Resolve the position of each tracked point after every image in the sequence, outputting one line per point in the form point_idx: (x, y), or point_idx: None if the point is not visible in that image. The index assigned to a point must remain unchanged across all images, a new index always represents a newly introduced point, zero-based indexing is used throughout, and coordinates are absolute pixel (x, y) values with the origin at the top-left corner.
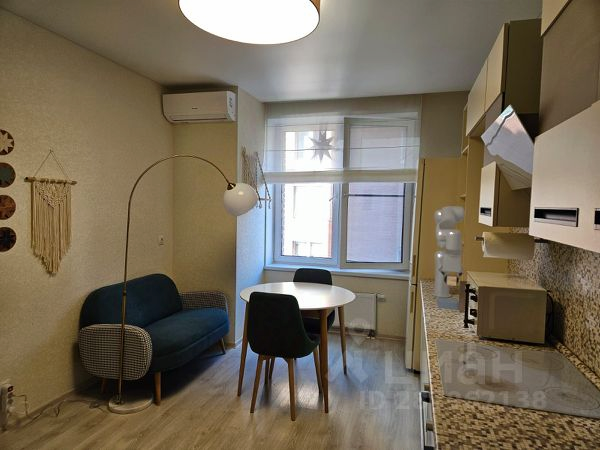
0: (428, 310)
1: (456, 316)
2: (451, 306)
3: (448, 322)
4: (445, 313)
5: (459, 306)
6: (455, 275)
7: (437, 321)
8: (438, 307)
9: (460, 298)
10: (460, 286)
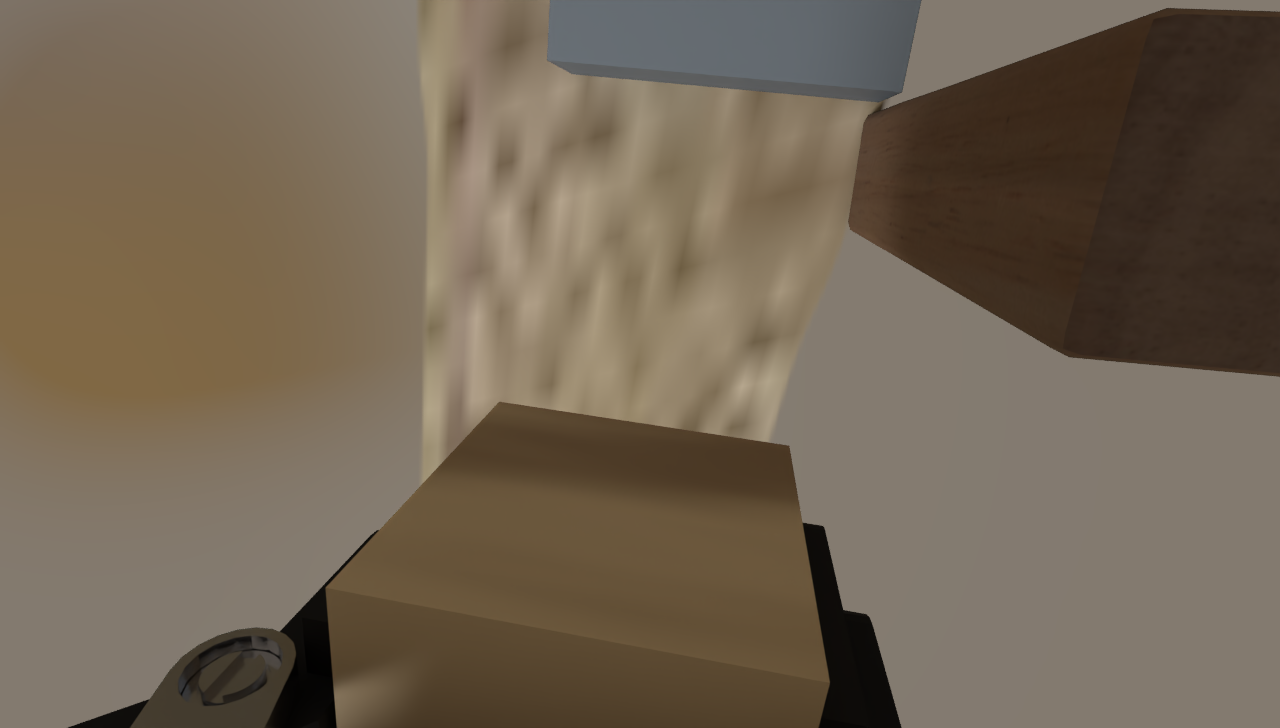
0: (435, 244)
1: (744, 432)
2: (763, 86)
3: None
4: (633, 333)
5: (865, 198)
6: (799, 719)
7: None
8: (575, 72)
9: (898, 255)
10: (991, 269)
